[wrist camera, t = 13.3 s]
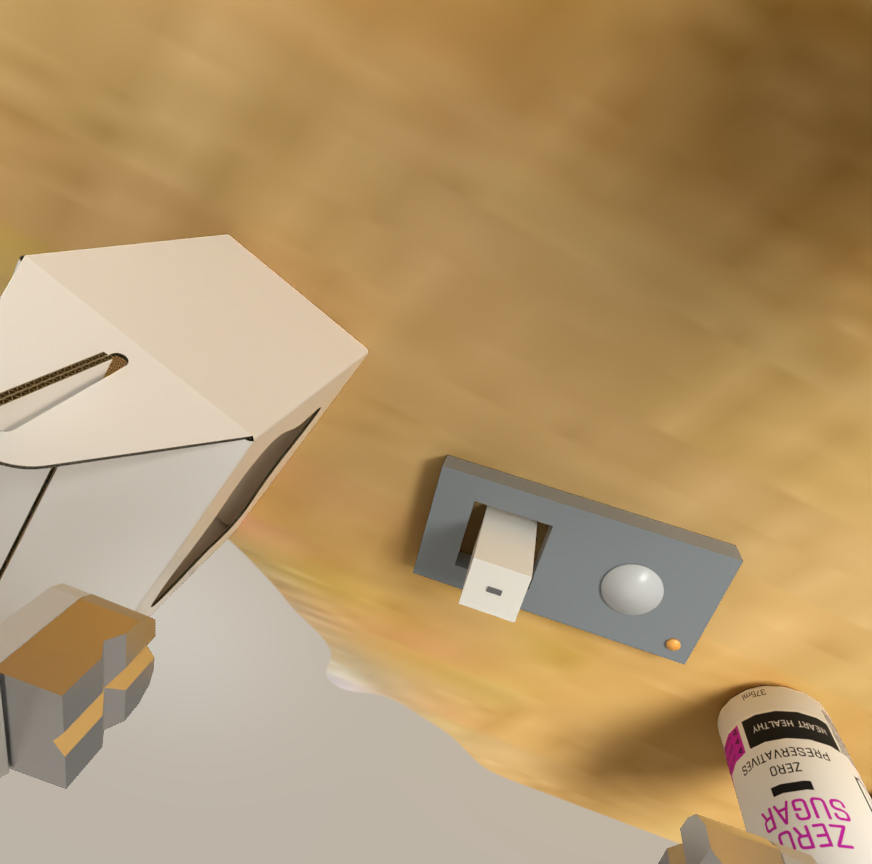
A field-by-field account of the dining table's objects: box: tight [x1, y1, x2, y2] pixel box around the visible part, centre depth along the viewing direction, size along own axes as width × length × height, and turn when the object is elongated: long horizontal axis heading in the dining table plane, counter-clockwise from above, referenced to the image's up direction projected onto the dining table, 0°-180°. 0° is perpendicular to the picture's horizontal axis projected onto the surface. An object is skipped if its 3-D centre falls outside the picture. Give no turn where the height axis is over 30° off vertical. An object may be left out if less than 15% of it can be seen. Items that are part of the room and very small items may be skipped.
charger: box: [459, 505, 537, 622], centre depth 42 cm, size 4×4×8 cm
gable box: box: [0, 234, 368, 624], centre depth 34 cm, size 22×13×28 cm, turn 142°
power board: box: [413, 455, 743, 664], centre depth 44 cm, size 22×10×2 cm, turn 76°
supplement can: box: [717, 686, 872, 864], centre depth 40 cm, size 8×8×15 cm
